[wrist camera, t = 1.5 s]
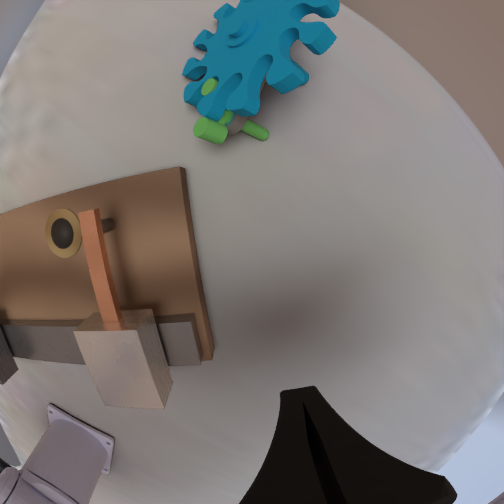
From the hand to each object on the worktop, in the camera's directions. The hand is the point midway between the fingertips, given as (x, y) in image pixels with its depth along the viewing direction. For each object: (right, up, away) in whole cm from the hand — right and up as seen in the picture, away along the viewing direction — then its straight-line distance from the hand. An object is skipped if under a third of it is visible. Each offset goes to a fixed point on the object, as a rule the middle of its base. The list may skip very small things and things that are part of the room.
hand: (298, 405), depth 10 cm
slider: (-9, +3, +6) cm, 12 cm away
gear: (-2, +17, +5) cm, 18 cm away
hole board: (-16, +4, +8) cm, 18 cm away
